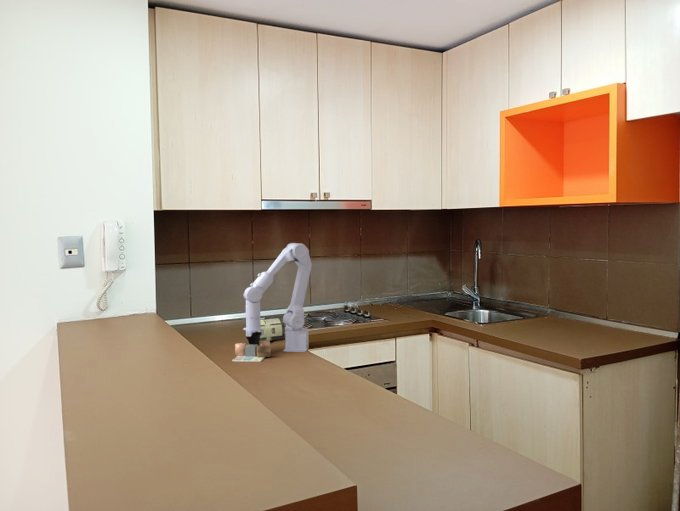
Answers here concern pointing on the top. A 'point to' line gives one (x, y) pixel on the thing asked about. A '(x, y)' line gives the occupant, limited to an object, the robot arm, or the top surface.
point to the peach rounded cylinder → (264, 342)
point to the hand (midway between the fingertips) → (254, 351)
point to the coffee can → (272, 329)
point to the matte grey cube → (250, 350)
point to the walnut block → (263, 351)
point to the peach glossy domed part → (240, 349)
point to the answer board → (248, 359)
